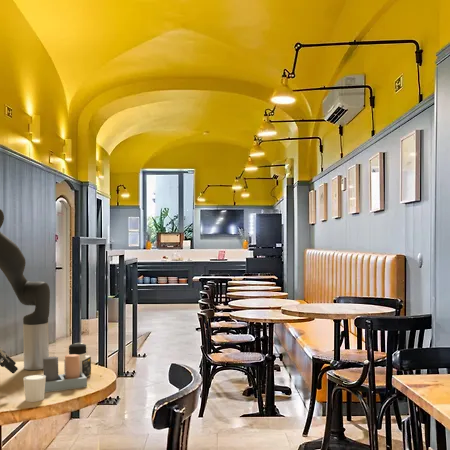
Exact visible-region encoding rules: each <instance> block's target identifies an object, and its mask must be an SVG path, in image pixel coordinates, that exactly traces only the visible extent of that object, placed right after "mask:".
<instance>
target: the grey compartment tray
mask: <svg viewBox="0 0 450 450" xmlns="http://www.w3.org/2000/svg"><path fill="white" fill-rule="evenodd" d="M64 360H65V374H64V373H61V374H58V380H56V381H48V382H45V393H48V392H56V391H63V390H65V391H66V390H72V389H81V388H82V389H83V388H87V387H88V377H86V376H85V375H84V374H83V373H82V372H80V355H77V354H71V355H69V354H66V355H65V356H64Z"/></svg>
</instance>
